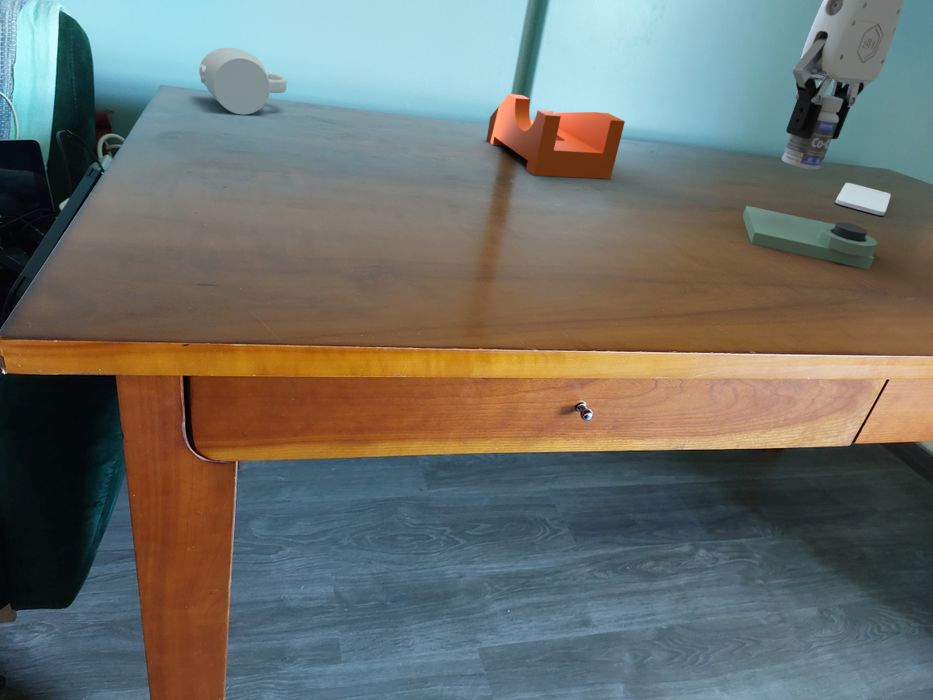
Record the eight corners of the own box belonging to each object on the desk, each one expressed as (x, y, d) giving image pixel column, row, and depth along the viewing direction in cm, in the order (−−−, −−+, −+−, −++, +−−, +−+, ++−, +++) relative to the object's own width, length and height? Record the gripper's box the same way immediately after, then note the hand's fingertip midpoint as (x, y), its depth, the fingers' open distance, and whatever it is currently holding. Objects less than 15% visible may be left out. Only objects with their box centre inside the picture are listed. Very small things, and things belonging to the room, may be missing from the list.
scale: (849, 239, 98) (858, 218, 97) (872, 273, 87) (883, 249, 86) (742, 216, 100) (749, 195, 99) (751, 246, 89) (759, 223, 88)
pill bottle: (807, 171, 89) (834, 100, 85) (773, 159, 92) (798, 90, 88) (827, 169, 92) (854, 100, 87) (794, 158, 95) (818, 91, 91)
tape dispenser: (610, 178, 107) (624, 121, 103) (533, 175, 102) (545, 115, 98) (556, 144, 121) (566, 92, 117) (486, 140, 117) (495, 86, 113)
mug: (207, 113, 105) (206, 54, 102) (200, 98, 113) (198, 42, 109) (291, 117, 110) (293, 62, 107) (278, 102, 118) (279, 50, 114)
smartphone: (835, 199, 114) (845, 182, 126) (833, 203, 114) (844, 186, 126) (885, 212, 111) (891, 193, 123) (883, 217, 111) (889, 198, 123)
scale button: (859, 236, 90) (863, 226, 90) (866, 245, 87) (870, 235, 87) (829, 230, 91) (833, 219, 90) (835, 239, 88) (839, 228, 87)
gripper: (859, -35, 74) (794, 144, 83) (945, -15, 83) (877, 145, 92) (798, -43, 79) (742, 126, 88) (884, -24, 88) (826, 129, 97)
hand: (812, 134), depth 90 cm, fingers closed on pill bottle, 4 cm apart
